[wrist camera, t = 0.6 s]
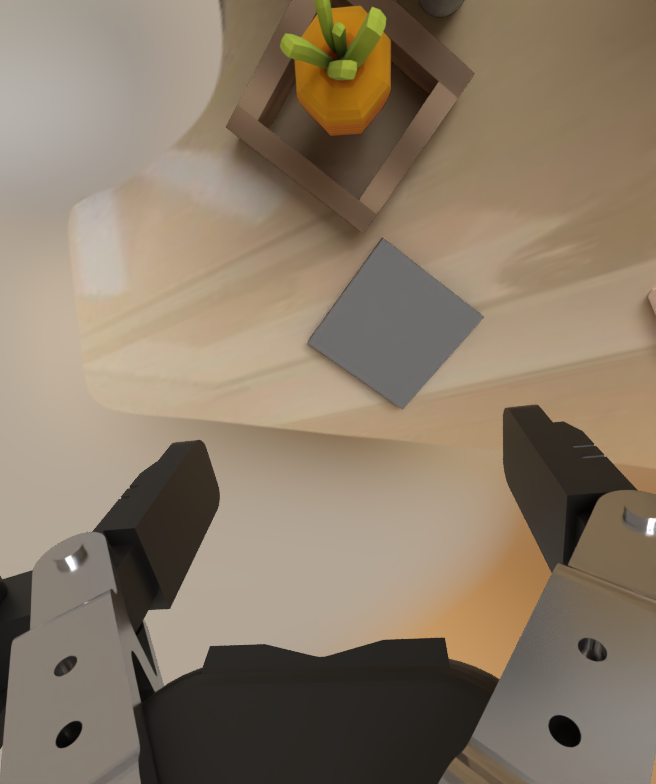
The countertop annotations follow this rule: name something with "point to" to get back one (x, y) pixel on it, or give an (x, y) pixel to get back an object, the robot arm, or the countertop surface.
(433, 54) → the socket collar
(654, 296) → the soap bar
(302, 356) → the countertop surface
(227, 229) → the countertop surface
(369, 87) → the carrot
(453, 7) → the hip flask
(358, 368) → the mat
